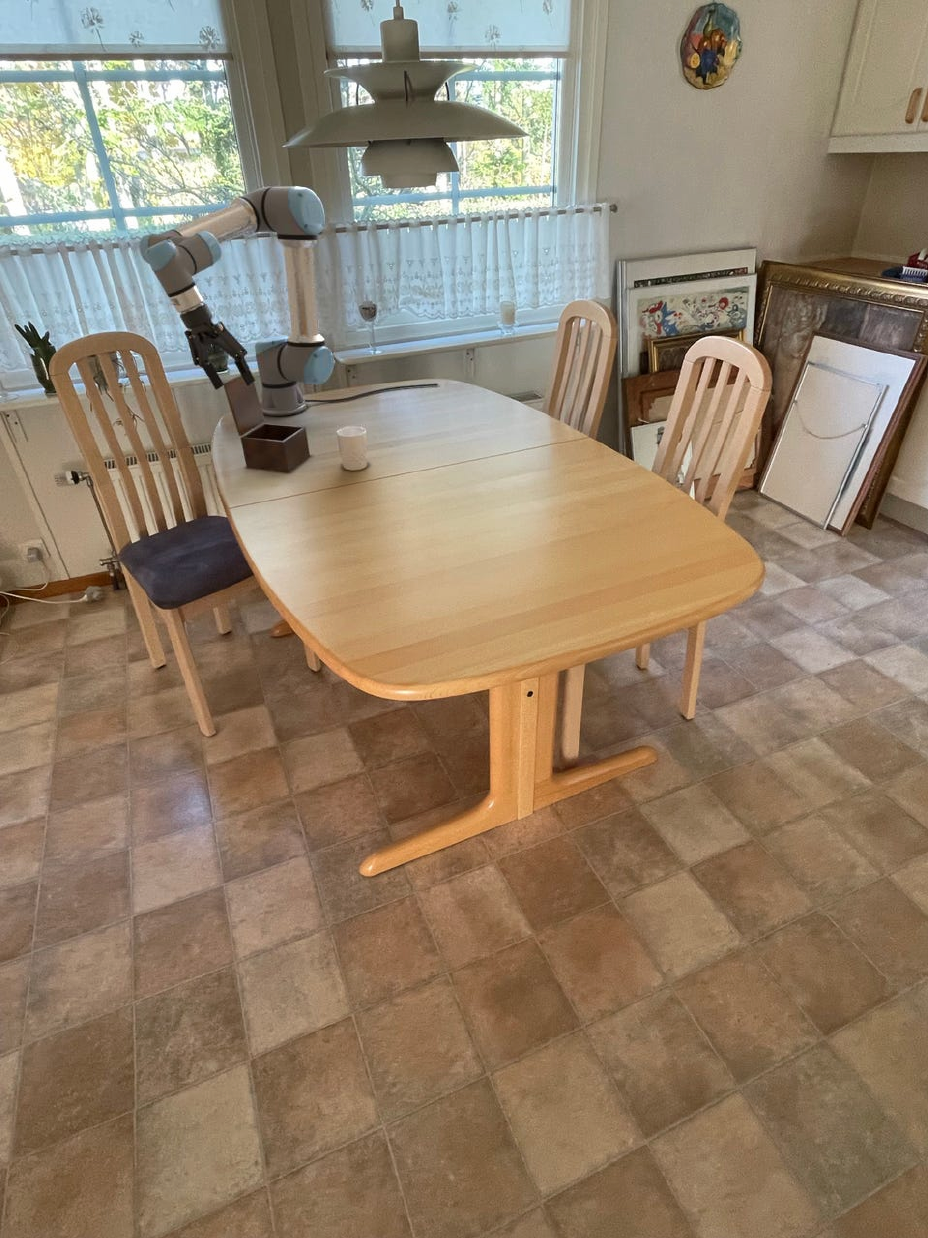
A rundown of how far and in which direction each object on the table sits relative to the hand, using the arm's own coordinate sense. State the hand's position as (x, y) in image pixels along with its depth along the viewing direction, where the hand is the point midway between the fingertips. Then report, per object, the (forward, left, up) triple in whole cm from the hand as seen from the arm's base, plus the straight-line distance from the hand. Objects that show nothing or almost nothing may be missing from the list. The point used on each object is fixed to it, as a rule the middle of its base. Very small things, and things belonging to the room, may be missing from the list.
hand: (235, 385), depth 190 cm
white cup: (-24, +22, -21) cm, 39 cm away
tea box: (-6, +8, -20) cm, 23 cm away
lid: (-1, +3, -4) cm, 6 cm away
